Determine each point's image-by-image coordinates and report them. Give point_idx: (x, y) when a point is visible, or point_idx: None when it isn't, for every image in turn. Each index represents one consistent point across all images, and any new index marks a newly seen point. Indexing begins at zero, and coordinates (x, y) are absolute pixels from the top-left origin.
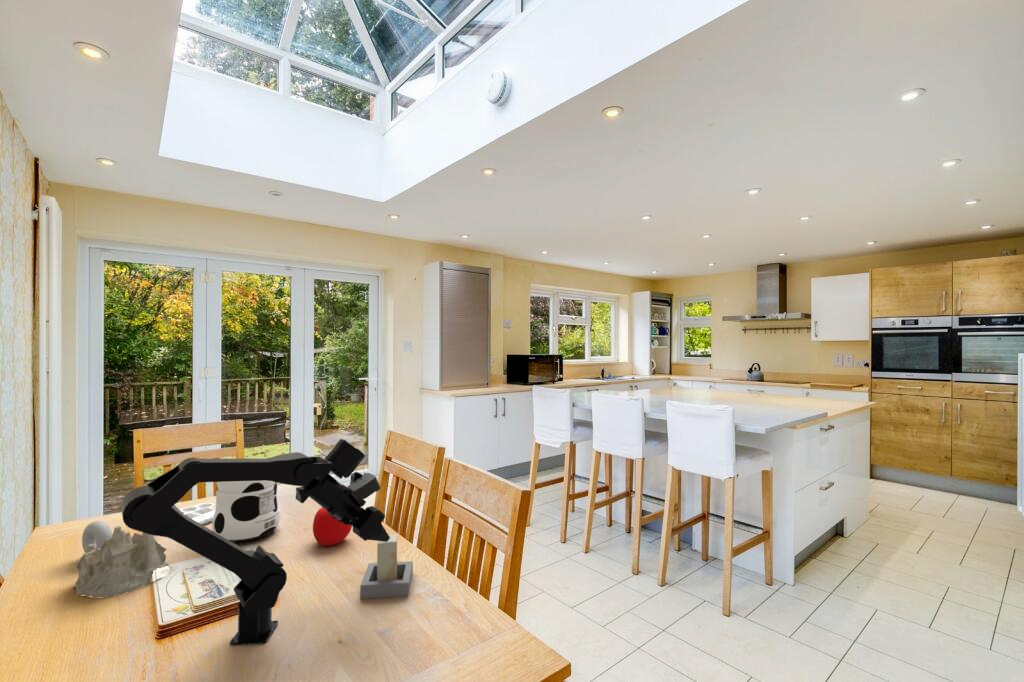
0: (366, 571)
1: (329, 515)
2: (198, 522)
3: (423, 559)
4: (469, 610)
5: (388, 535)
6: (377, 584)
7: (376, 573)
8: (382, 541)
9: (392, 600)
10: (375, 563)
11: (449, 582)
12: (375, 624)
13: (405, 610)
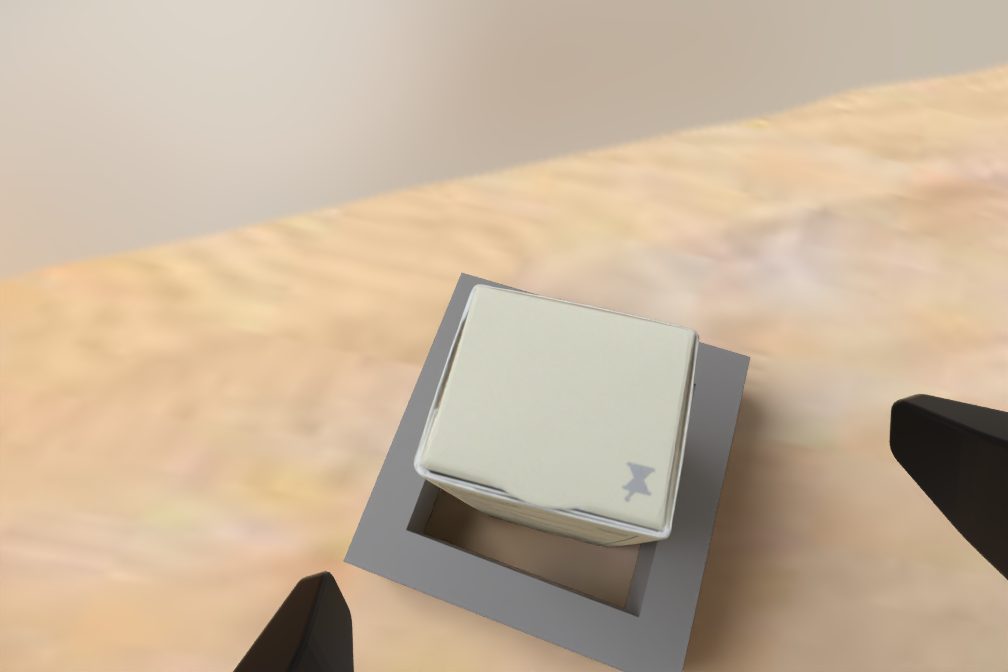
0: (468, 603)
1: None
2: None
3: (334, 217)
4: (947, 152)
5: (983, 409)
6: (705, 560)
7: (423, 516)
8: (639, 472)
9: (739, 476)
10: (371, 513)
11: (649, 163)
12: (989, 629)
13: (872, 430)
